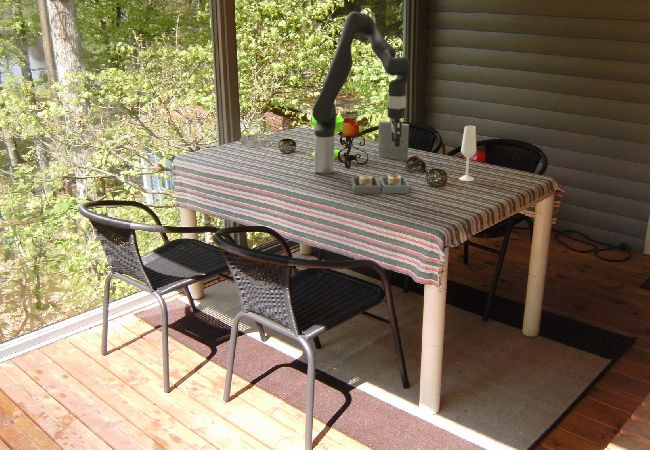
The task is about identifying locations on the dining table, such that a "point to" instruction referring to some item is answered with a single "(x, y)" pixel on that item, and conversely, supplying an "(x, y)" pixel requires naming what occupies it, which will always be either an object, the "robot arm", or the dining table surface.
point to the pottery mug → (415, 163)
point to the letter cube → (394, 180)
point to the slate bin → (394, 189)
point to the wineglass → (338, 126)
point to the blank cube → (365, 181)
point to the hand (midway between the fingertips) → (395, 143)
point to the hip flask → (386, 144)
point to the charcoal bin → (365, 189)
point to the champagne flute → (468, 148)
